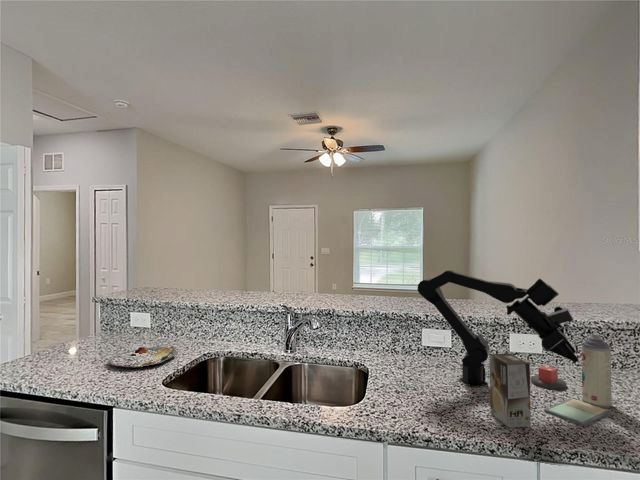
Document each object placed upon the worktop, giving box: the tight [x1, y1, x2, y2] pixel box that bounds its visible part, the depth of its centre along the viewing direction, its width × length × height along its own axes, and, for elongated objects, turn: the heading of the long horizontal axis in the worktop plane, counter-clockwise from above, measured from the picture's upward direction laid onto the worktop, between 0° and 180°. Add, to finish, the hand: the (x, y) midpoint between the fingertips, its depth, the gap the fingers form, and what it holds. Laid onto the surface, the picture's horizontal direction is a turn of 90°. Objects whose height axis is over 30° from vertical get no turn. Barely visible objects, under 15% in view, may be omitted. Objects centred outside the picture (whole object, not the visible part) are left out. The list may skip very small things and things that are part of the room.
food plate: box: [108, 346, 178, 368], centre depth 151 cm, size 25×23×4 cm
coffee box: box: [488, 353, 532, 429], centre depth 99 cm, size 9×6×16 cm
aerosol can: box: [581, 332, 613, 410], centre depth 108 cm, size 7×7×20 cm
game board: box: [544, 398, 612, 428], centre depth 102 cm, size 14×10×1 cm
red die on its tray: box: [530, 365, 567, 391], centre depth 123 cm, size 10×10×5 cm
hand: (576, 356), depth 110 cm, fingers open, 9 cm apart
